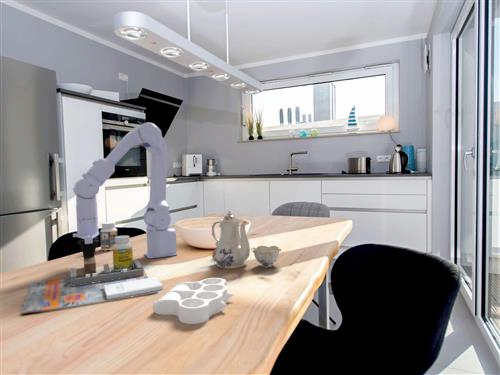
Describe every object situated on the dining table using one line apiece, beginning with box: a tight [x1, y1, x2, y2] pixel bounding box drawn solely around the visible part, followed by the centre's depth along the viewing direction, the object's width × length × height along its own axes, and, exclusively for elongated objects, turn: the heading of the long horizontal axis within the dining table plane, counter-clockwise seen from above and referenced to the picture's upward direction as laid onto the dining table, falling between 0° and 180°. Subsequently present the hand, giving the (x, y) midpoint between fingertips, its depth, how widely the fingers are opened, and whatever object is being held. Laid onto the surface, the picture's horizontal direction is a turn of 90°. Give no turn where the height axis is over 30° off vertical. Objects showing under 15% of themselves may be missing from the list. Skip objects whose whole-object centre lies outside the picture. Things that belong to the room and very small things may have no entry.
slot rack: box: [70, 259, 145, 287], centre depth 94 cm, size 18×10×2 cm, turn 117°
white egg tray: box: [152, 277, 235, 325], centre depth 72 cm, size 3×18×15 cm
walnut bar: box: [83, 256, 97, 276], centre depth 98 cm, size 3×8×3 cm, turn 27°
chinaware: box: [211, 210, 282, 270], centre depth 104 cm, size 28×17×17 cm, turn 46°
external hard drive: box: [103, 276, 164, 300], centre depth 82 cm, size 2×8×12 cm
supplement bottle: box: [112, 235, 134, 272], centre depth 99 cm, size 5×5×10 cm
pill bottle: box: [99, 221, 118, 252], centre depth 126 cm, size 6×6×10 cm
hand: (89, 263), depth 103 cm, fingers closed
